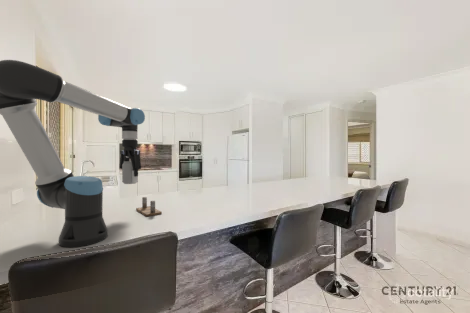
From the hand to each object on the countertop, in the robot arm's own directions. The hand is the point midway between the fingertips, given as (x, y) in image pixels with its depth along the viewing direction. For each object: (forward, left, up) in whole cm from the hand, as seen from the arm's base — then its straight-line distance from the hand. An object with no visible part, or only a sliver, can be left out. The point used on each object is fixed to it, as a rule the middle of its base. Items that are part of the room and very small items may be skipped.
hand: (130, 182), depth 116 cm
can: (0, 0, -1) cm, 1 cm away
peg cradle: (-2, -9, -17) cm, 20 cm away
